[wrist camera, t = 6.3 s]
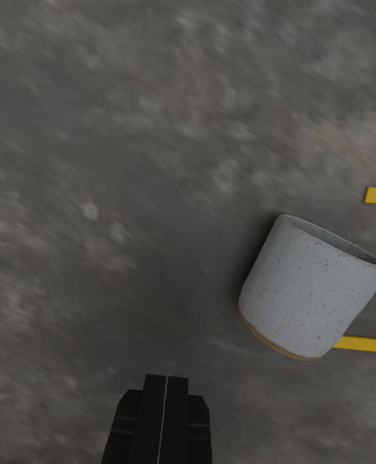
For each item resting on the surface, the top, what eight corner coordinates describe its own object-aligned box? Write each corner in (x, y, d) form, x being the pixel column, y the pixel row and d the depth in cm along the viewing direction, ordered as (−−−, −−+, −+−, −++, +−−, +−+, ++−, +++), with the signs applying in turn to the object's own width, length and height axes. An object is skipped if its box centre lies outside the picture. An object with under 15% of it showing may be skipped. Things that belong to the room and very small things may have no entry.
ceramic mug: (225, 291, 25) (242, 353, 17) (266, 204, 22) (306, 231, 15) (333, 330, 26) (392, 403, 18) (382, 250, 24) (471, 297, 16)
